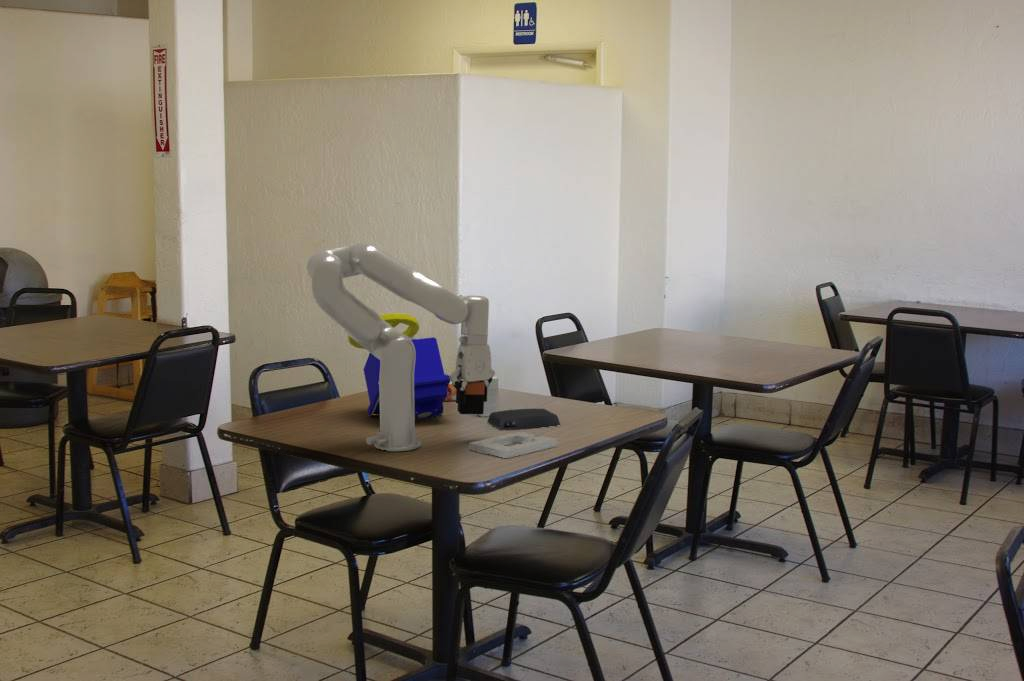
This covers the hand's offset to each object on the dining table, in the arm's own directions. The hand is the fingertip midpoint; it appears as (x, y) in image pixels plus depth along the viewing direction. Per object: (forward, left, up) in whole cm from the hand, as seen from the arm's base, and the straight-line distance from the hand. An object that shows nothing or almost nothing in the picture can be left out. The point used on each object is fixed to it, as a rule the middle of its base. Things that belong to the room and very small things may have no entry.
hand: (471, 402), depth 311 cm
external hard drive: (+26, +5, -12) cm, 29 cm away
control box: (+6, +40, -11) cm, 42 cm away
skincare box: (+28, +23, -11) cm, 38 cm away
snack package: (+37, +49, -12) cm, 62 cm away
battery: (0, 0, -3) cm, 3 cm away
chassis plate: (+2, -14, -11) cm, 18 cm away
